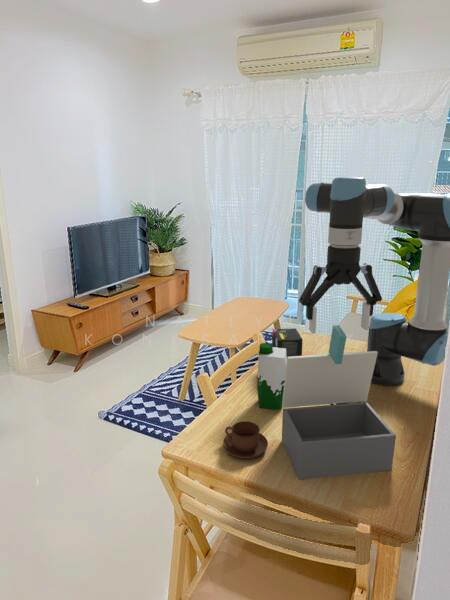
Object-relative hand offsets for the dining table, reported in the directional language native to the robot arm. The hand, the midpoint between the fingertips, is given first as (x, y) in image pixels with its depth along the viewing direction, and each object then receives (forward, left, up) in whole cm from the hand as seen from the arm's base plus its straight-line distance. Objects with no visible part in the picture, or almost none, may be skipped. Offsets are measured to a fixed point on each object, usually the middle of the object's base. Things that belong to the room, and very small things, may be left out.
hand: (338, 329), depth 109 cm
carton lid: (0, +1, -12) cm, 12 cm away
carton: (0, +4, -34) cm, 34 cm away
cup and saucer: (+23, -3, -34) cm, 41 cm away
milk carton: (+10, -24, -34) cm, 43 cm away
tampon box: (-1, -48, -34) cm, 59 cm away
